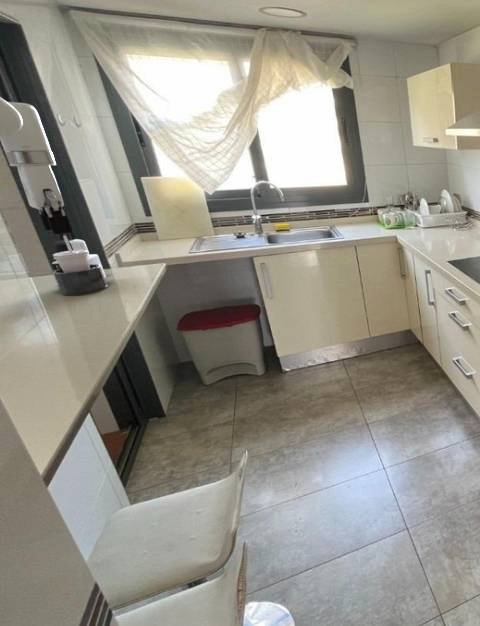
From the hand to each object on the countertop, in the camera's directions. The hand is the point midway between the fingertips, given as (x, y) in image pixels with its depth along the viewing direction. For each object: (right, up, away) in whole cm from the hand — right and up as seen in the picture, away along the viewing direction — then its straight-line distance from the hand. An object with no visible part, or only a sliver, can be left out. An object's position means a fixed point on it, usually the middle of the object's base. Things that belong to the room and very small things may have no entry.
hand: (58, 231), depth 115 cm
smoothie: (0, -14, +6) cm, 15 cm away
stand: (0, -15, +6) cm, 16 cm away
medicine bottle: (-6, -12, +13) cm, 19 cm away
